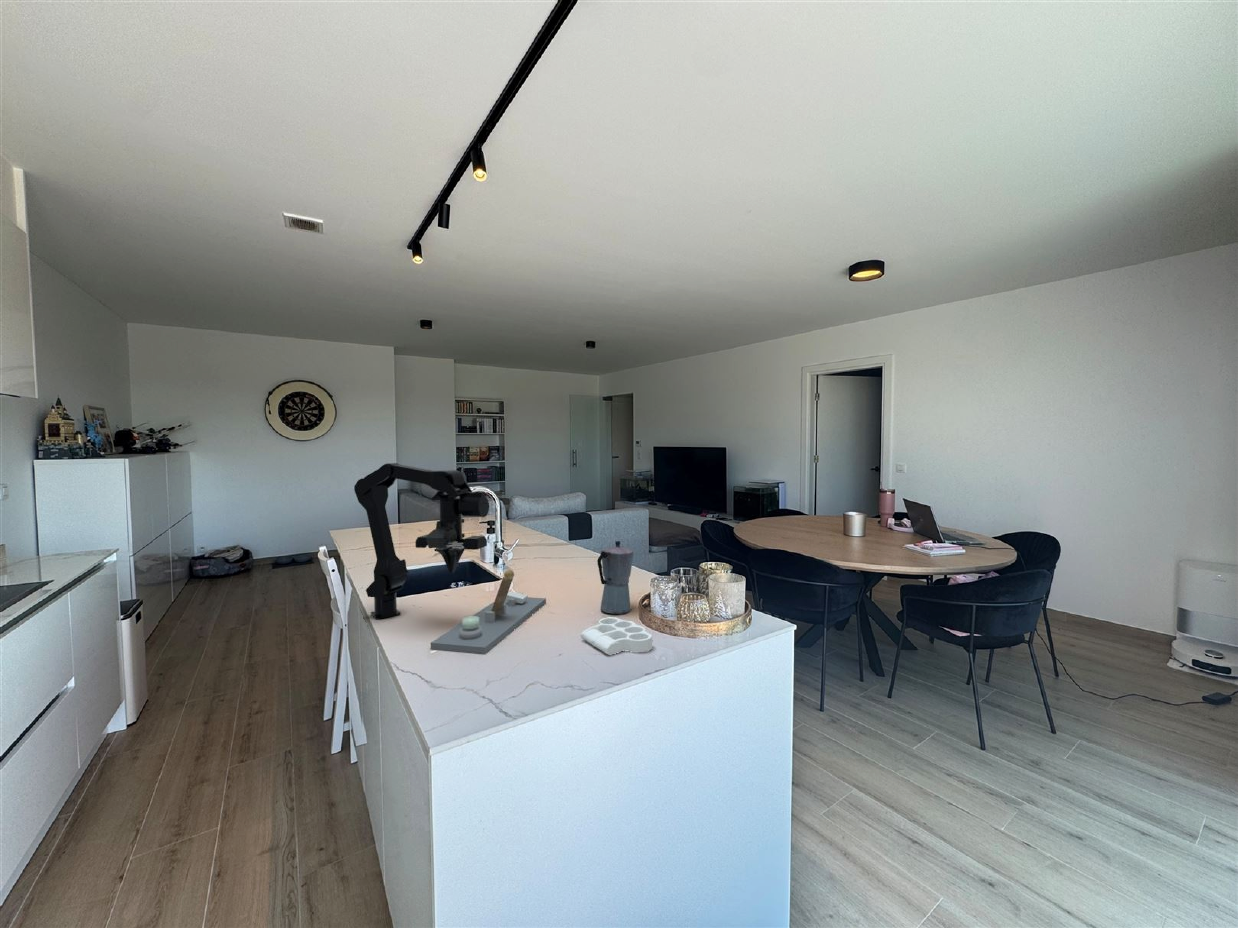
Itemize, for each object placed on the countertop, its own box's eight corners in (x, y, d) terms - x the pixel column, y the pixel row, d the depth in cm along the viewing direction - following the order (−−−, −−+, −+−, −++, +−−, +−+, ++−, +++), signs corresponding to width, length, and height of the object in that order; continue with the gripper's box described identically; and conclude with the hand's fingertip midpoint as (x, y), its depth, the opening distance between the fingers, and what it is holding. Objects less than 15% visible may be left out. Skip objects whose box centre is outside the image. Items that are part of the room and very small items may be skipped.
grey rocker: (504, 599, 144) (505, 594, 144) (509, 595, 148) (510, 591, 148) (522, 603, 143) (522, 598, 143) (527, 599, 147) (527, 595, 147)
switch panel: (430, 648, 116) (430, 631, 116) (503, 600, 153) (503, 587, 153) (485, 653, 113) (484, 636, 113) (546, 603, 150) (545, 589, 150)
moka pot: (643, 606, 146) (642, 539, 146) (614, 621, 133) (614, 548, 133) (616, 601, 152) (615, 536, 151) (586, 615, 139) (585, 544, 138)
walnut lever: (486, 616, 131) (502, 570, 130) (494, 611, 135) (510, 566, 134) (495, 620, 131) (511, 574, 129) (502, 615, 135) (518, 570, 133)
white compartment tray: (574, 638, 123) (622, 625, 131) (614, 663, 108) (666, 647, 117) (574, 624, 123) (622, 613, 131) (614, 648, 108) (666, 633, 116)
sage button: (458, 628, 119) (458, 620, 119) (467, 622, 123) (467, 615, 123) (474, 629, 118) (473, 622, 118) (482, 623, 122) (482, 616, 122)
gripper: (401, 520, 129) (403, 579, 130) (466, 521, 125) (467, 582, 125) (427, 514, 140) (428, 568, 140) (487, 515, 136) (488, 571, 136)
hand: (451, 573), depth 135 cm, fingers closed
